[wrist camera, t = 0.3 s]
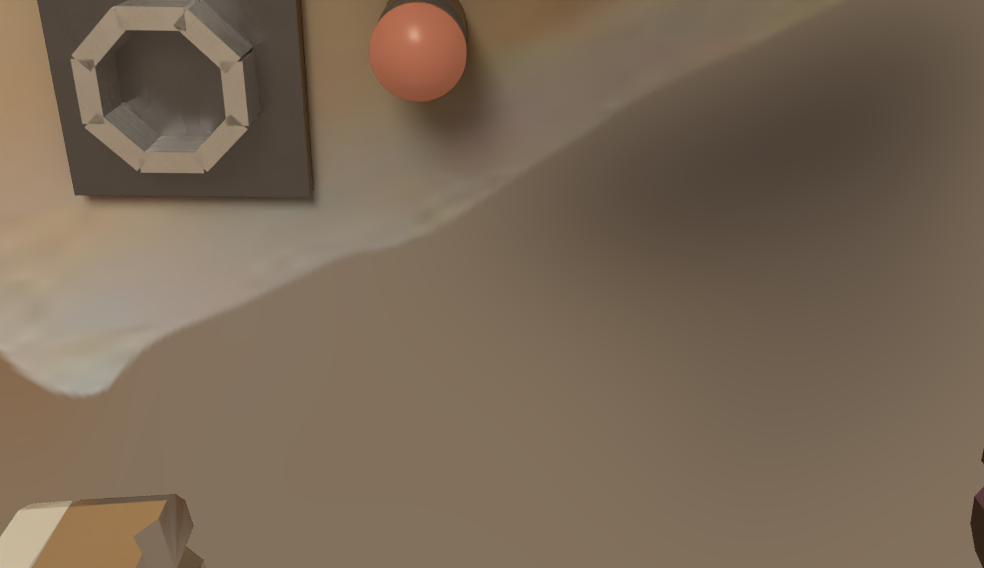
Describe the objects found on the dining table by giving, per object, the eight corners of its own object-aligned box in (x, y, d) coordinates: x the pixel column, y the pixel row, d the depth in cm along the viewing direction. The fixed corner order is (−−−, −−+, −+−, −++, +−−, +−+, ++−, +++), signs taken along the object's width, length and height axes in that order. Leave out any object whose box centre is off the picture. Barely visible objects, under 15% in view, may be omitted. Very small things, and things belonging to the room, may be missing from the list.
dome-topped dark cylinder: (381, -19, 50) (367, 2, 43) (466, -18, 50) (466, 4, 43) (384, 66, 52) (371, 101, 45) (465, 68, 53) (466, 102, 45)
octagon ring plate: (38, -56, 49) (0, -48, 45) (296, -51, 49) (281, -43, 45) (84, 186, 55) (54, 213, 51) (313, 189, 55) (301, 215, 51)
